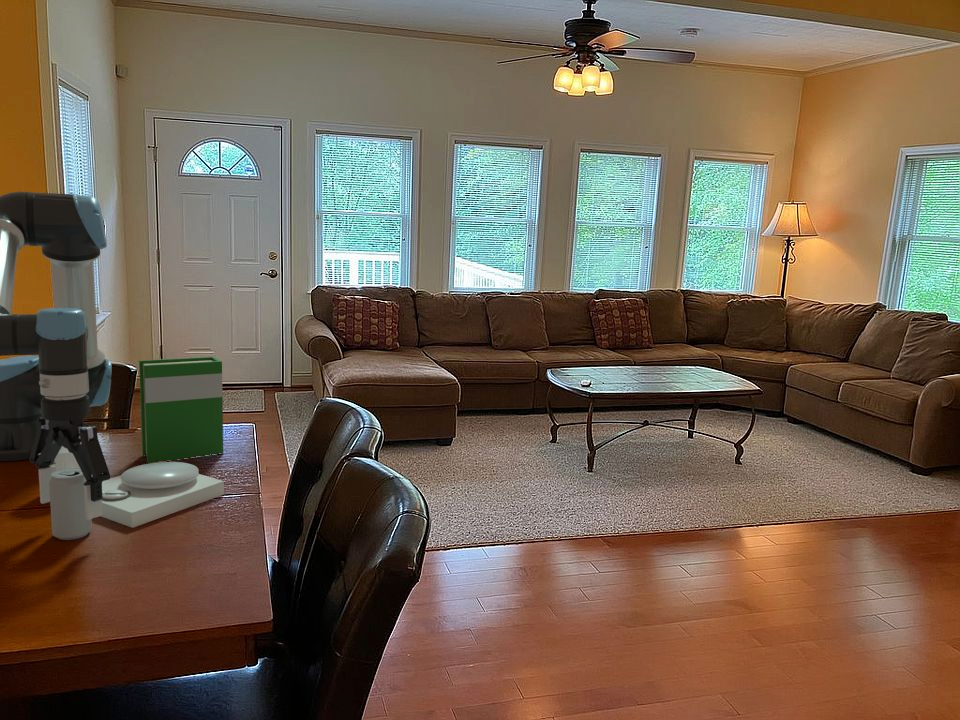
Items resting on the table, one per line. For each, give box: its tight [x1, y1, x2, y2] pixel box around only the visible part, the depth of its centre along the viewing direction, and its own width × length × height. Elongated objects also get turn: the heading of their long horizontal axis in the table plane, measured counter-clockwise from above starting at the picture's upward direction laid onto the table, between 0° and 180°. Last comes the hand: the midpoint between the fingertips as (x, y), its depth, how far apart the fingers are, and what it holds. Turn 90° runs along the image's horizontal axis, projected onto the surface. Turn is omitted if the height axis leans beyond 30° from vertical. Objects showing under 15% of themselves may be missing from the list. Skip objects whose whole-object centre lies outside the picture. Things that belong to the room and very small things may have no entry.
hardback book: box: [138, 356, 224, 464], centre depth 179 cm, size 18×7×24 cm, turn 124°
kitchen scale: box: [100, 461, 225, 529], centre depth 151 cm, size 20×22×5 cm
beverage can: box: [49, 468, 93, 541], centre depth 132 cm, size 6×6×12 cm
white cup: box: [38, 446, 80, 471], centre depth 152 cm, size 8×8×10 cm
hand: (71, 509), depth 132 cm, fingers open, 13 cm apart
